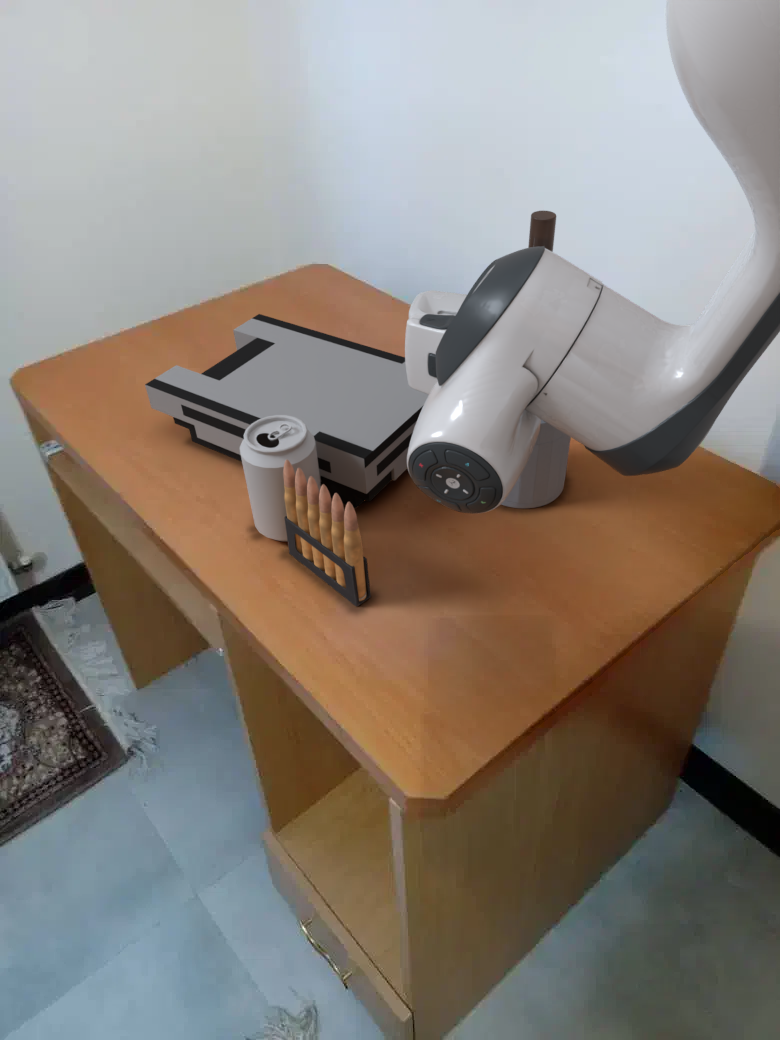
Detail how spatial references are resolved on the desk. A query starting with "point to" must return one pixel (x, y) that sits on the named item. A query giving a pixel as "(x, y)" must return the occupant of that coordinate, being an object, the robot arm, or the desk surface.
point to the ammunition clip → (325, 536)
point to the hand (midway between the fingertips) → (537, 296)
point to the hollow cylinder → (542, 470)
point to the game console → (302, 401)
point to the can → (275, 467)
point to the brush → (542, 229)
